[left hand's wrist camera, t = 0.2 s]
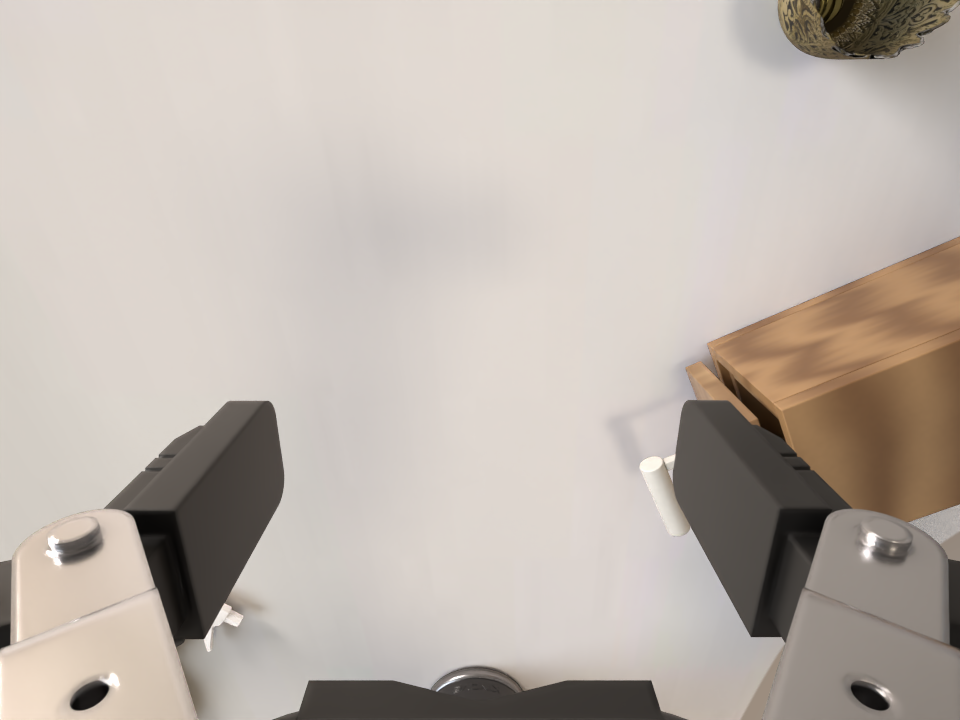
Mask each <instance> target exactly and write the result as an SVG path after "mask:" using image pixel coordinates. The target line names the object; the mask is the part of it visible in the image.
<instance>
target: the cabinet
mask: <svg viewBox="0 0 960 720" xmlns="http://www.w3.org/2000/svg"><path fill="white" fill-rule="evenodd" d="M707 345H708V348H709V351H710V354H711V356H712V359H713V362H714V365H715V368H716V370H717V373H718V376H719V379H720V381H721V382H722V383H723V384H724V385H725V386H726V387H727V388H728V389H729V390H730V391H731V392H732V393H733V394H734V395H735V396H736V397H737V394H736V391H735V388H734V385H733V382H732V379H731V377H730V374H729V372H731V373H732V374H733V375H734V376H735V377H736V378H737V379H738V380H739V381H740V382H741V383H742V384H743V385H744V386H746V387H747V388H748V389H749V390H750V391H751V392H752V393H753V394H754V395H755V396H756V397H757V398H758V399H760V400H761V401H762V402H763V403H764V404H765V405H766V406H767V407H768V408H769V409H770V410H771V411H772V412H774V413H775V414H776V415H777V416H778V419H779V422H780V425H781V428H782V431H783V434H784V437H785V440H786V443H787V444H788V445H789V446H790V447H791V448H792V449H793V450H794V451H795V452H796V453H797V457H801V458H802V459H803V460H804V461H805V462H806V463H807V464H808V465H809V466H810V469H811V470H814V471H815V472H816V473H817V474H818V475H819V476H820V477H821V478H822V479H823V480H824V481H825V482H826V483H827V484H828V485H829V486H830V487H831V488H832V489H833V490H834V491H835V492H836V493H837V494H838V495H839V496H840V497H841V498H842V499H844V500H845V501H846V502H847V503H848V504H849V505H850V506H851V507H852V508H853V509H863V510H870V511H875V512H879V513H883V514H886V515H890V516H892V517H895V518H898V519H900V520H903V521H905V522H910V521H913V520H916V519H919V518H922V517H924V516H927V515H930V514H933V513H936V512H939V511H942V510H944V509H947V508H950V507H953V506H956V505H959V504H960V237H958V238H956V239H953V240H951V241H948V242H946V243H944V244H941V245H939V246H937V247H934V248H932V249H930V250H927V251H925V252H922V253H920V254H918V255H915V256H913V257H911V258H908V259H906V260H904V261H901V262H899V263H896V264H894V265H892V266H889V267H887V268H885V269H882V270H880V271H878V272H875V273H873V274H870V275H868V276H866V277H863V278H861V279H859V280H856V281H854V282H852V283H849V284H847V285H844V286H842V287H840V288H837V289H835V290H833V291H830V292H828V293H825V294H823V295H821V296H818V297H816V298H814V299H811V300H809V301H807V302H804V303H802V304H799V305H797V306H795V307H792V308H790V309H788V310H785V311H783V312H781V313H778V314H776V315H773V316H771V317H769V318H766V319H764V320H762V321H759V322H757V323H755V324H752V325H750V326H747V327H745V328H743V329H740V330H738V331H736V332H733V333H731V334H728V335H726V336H724V337H721V338H719V339H717V340H714V341H712V342H710V343H707ZM737 398H738V397H737Z"/></svg>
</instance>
